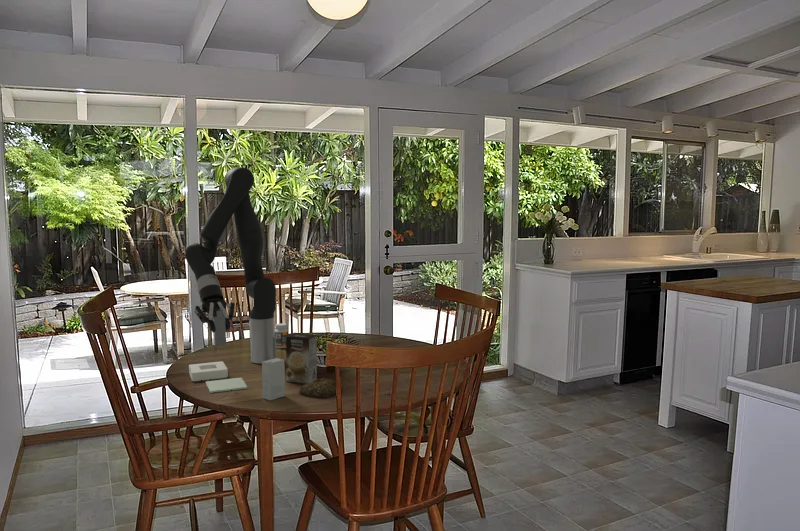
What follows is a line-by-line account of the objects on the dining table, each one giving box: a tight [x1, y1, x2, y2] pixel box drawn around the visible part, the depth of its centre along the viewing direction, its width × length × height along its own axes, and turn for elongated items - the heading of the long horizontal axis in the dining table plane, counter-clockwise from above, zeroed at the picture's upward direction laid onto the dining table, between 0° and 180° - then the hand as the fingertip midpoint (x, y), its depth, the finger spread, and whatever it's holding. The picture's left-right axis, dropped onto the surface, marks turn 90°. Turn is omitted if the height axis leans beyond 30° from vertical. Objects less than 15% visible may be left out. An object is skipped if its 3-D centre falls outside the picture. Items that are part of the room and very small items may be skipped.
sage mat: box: [205, 377, 248, 394], centre depth 206 cm, size 12×12×1 cm
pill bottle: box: [274, 322, 289, 349], centre depth 261 cm, size 6×6×10 cm
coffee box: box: [285, 332, 318, 384], centre depth 212 cm, size 9×6×16 cm
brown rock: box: [298, 377, 337, 399], centre depth 199 cm, size 13×12×5 cm
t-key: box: [212, 308, 227, 347], centre depth 207 cm, size 4×5×12 cm
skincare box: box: [261, 357, 286, 401], centre depth 193 cm, size 6×4×12 cm
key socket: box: [188, 360, 229, 382], centre depth 219 cm, size 12×12×3 cm
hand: (221, 330), depth 205 cm, fingers closed on t-key, 4 cm apart
